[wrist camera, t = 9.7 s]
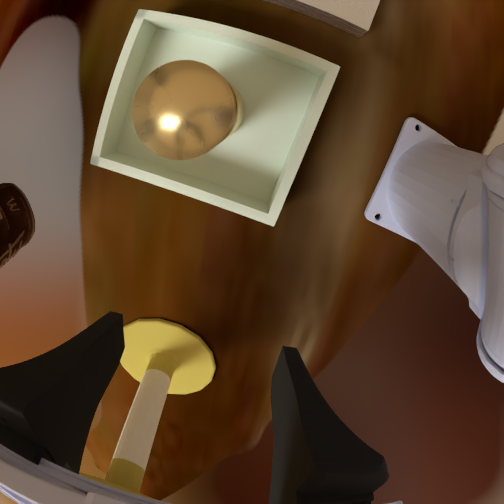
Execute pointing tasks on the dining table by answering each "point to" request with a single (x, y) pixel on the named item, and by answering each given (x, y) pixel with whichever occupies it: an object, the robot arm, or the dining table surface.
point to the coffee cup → (14, 221)
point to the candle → (154, 390)
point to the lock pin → (185, 110)
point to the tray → (249, 132)
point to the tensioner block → (336, 12)
